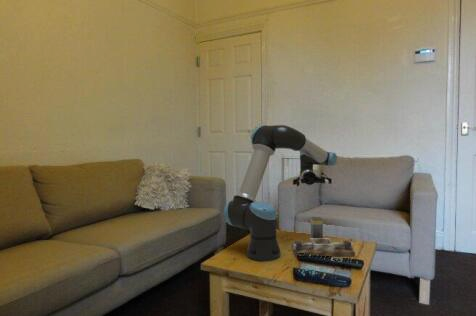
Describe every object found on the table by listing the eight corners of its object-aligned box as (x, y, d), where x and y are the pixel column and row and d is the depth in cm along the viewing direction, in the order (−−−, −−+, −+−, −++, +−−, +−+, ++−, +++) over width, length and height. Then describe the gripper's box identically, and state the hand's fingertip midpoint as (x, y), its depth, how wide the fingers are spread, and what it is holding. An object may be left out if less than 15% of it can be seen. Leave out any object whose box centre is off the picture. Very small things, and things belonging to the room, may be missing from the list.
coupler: (312, 245, 164) (312, 219, 163) (310, 242, 169) (310, 216, 168) (322, 245, 164) (323, 219, 163) (320, 242, 169) (320, 216, 168)
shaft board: (294, 257, 150) (294, 245, 149) (290, 247, 162) (290, 237, 161) (356, 256, 149) (356, 244, 149) (347, 247, 161) (347, 236, 161)
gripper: (331, 182, 193) (339, 190, 172) (287, 184, 195) (289, 192, 174) (331, 169, 192) (339, 176, 171) (286, 171, 194) (289, 178, 173)
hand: (314, 184), depth 172 cm, fingers open, 13 cm apart
